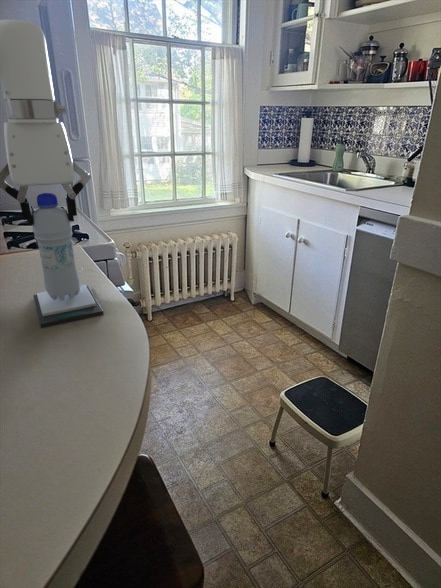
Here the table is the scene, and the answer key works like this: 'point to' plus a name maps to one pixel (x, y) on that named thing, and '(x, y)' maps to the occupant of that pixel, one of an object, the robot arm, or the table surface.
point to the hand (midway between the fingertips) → (51, 220)
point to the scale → (66, 307)
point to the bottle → (55, 247)
